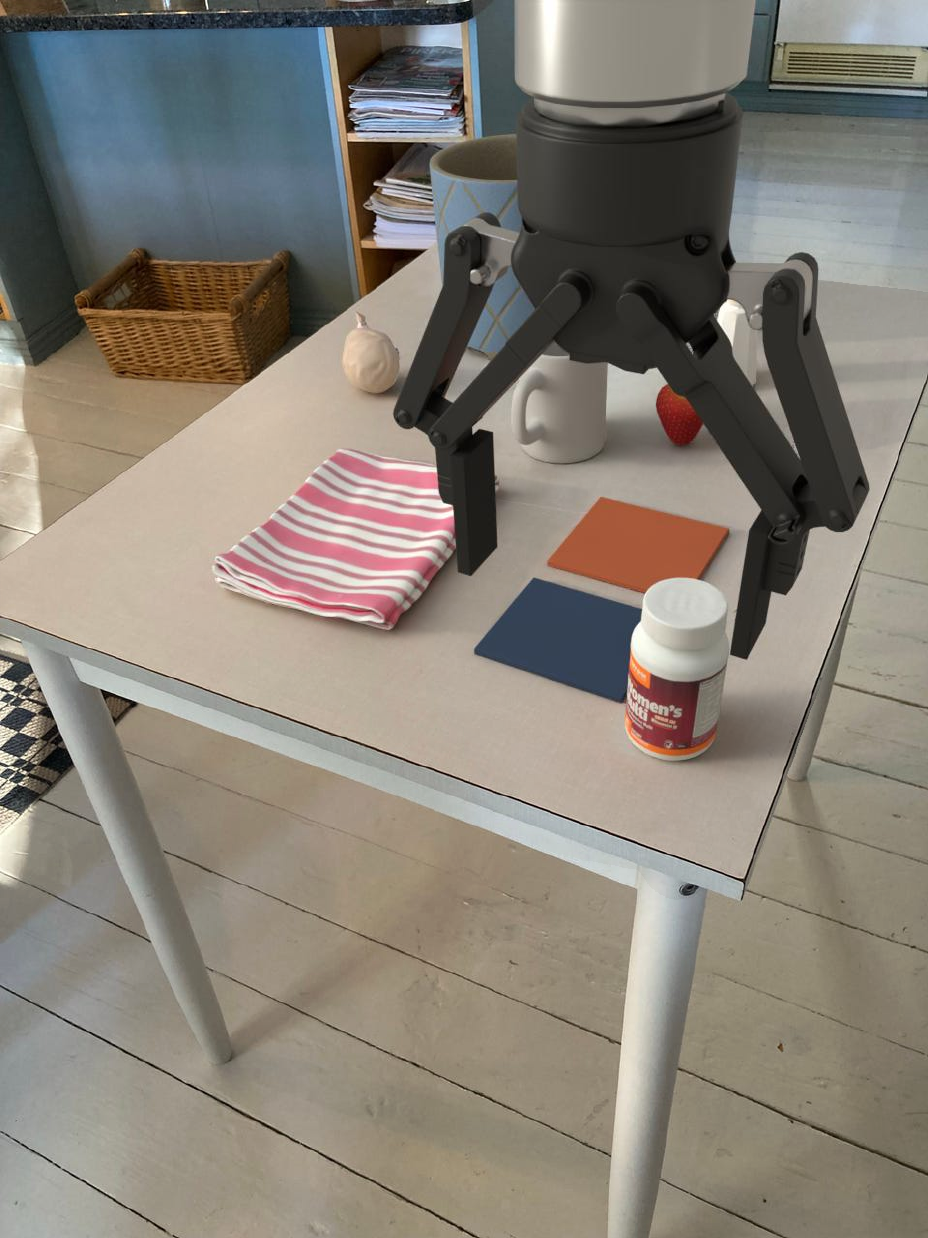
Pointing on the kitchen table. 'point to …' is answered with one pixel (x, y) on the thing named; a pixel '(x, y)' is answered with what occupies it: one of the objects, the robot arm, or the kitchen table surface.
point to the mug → (560, 408)
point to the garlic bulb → (370, 358)
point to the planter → (462, 192)
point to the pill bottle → (677, 669)
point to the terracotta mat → (637, 546)
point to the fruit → (677, 417)
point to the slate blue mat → (566, 638)
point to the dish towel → (348, 541)
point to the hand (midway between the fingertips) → (604, 597)
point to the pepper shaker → (740, 337)
